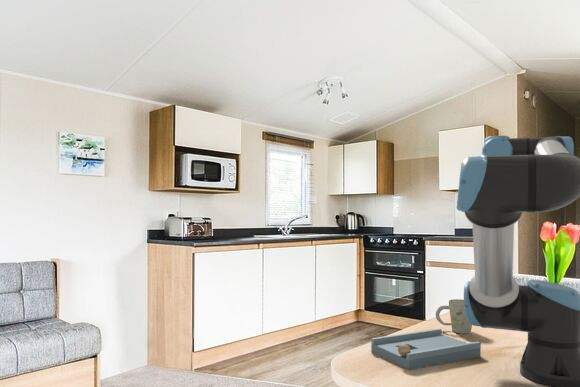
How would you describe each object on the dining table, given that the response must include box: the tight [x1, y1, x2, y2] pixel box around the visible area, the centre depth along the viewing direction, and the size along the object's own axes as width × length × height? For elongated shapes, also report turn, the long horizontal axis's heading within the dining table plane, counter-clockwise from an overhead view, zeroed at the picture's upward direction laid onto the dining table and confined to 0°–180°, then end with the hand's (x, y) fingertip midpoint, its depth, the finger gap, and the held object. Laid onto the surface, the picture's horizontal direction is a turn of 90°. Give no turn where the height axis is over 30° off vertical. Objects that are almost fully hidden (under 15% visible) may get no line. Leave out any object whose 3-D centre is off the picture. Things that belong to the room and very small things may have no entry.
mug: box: [435, 298, 473, 335], centre depth 160 cm, size 8×13×10 cm, turn 79°
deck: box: [370, 328, 482, 371], centre depth 135 cm, size 16×26×4 cm, turn 117°
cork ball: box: [398, 344, 411, 357], centre depth 125 cm, size 3×3×3 cm
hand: (496, 266), depth 141 cm, fingers closed
